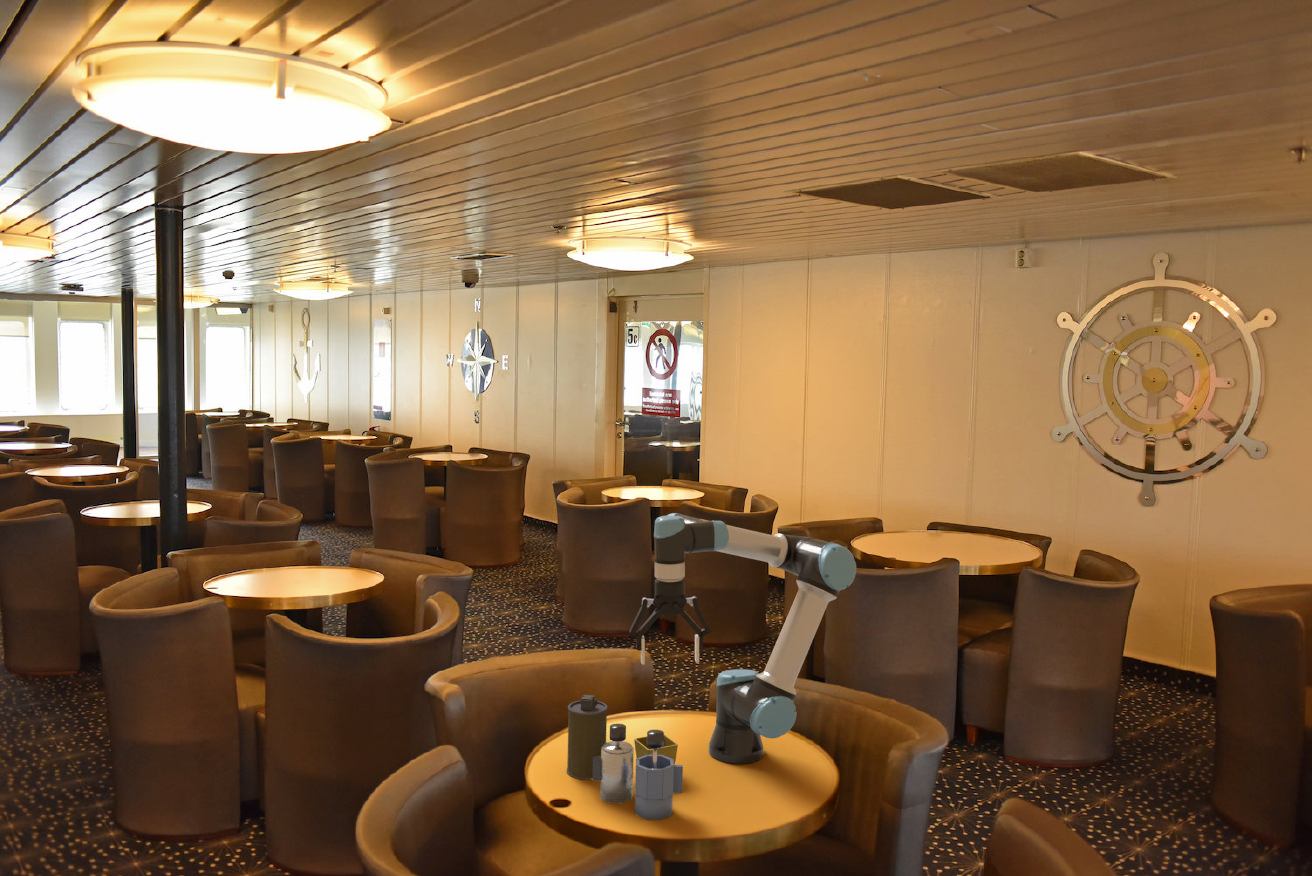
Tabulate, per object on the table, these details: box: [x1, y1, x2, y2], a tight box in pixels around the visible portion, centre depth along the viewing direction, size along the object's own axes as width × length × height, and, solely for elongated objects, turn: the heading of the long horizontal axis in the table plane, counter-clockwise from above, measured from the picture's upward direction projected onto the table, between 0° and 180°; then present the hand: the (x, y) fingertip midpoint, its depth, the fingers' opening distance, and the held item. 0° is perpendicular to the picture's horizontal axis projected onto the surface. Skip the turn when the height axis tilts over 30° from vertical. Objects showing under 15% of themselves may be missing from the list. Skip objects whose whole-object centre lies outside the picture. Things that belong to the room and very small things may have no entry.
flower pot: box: [633, 733, 679, 765], centre depth 246 cm, size 9×9×9 cm
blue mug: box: [634, 755, 684, 821], centre depth 225 cm, size 11×9×12 cm
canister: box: [566, 694, 608, 780], centre depth 247 cm, size 11×10×20 cm
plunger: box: [646, 729, 665, 769], centre depth 225 cm, size 7×7×14 cm
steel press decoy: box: [591, 723, 635, 804], centre depth 233 cm, size 10×8×18 cm
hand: (670, 662), depth 236 cm, fingers open, 13 cm apart
